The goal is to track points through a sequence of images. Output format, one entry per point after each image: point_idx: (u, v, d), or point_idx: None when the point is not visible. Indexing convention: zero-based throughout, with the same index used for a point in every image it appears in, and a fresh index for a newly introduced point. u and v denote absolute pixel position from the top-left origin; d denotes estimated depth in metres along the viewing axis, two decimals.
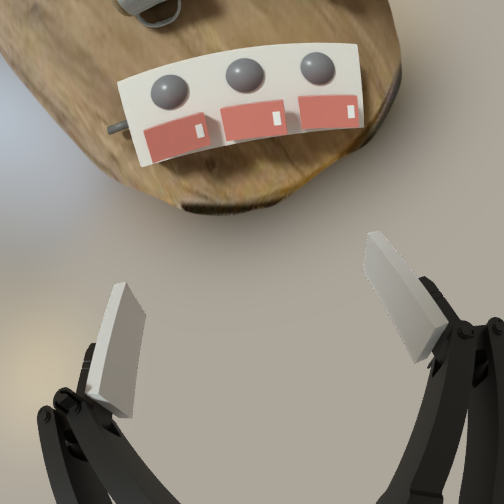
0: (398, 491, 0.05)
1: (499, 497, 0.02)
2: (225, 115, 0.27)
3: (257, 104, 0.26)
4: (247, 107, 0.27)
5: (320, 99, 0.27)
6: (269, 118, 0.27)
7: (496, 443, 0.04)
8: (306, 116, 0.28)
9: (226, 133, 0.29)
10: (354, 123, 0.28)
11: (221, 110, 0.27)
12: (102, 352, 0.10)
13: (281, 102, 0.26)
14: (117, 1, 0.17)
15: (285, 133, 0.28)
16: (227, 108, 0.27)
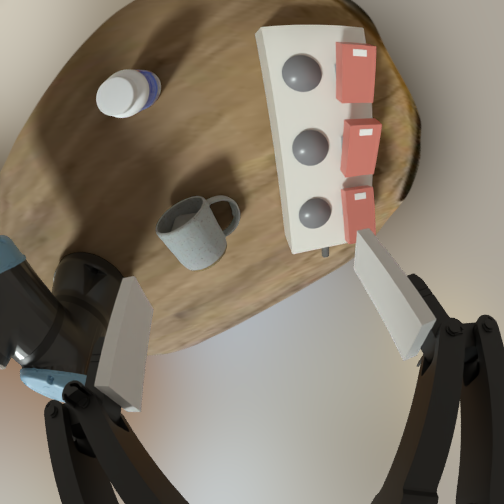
0: (392, 491, 0.05)
1: (496, 495, 0.02)
2: (352, 173, 0.30)
3: (349, 147, 0.27)
4: (350, 155, 0.28)
5: (345, 82, 0.23)
6: (364, 137, 0.26)
7: (490, 442, 0.04)
8: (361, 97, 0.24)
9: (367, 173, 0.30)
10: (372, 51, 0.20)
11: (346, 176, 0.30)
12: (112, 345, 0.10)
13: (351, 126, 0.25)
14: (215, 261, 0.36)
15: (380, 125, 0.25)
16: (346, 171, 0.29)
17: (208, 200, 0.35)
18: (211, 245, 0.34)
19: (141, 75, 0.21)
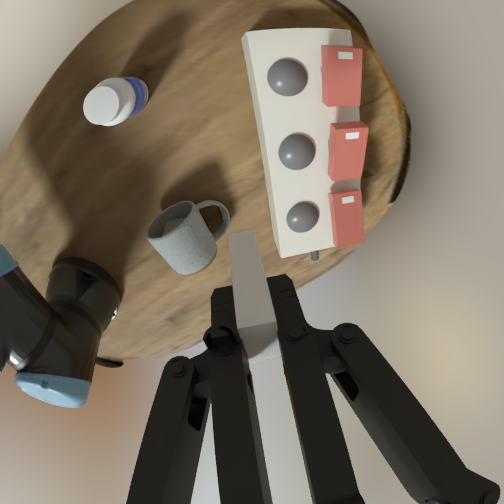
0: None
1: (450, 490, 0.03)
2: (339, 176, 0.30)
3: (335, 151, 0.27)
4: (336, 159, 0.28)
5: (331, 85, 0.23)
6: (351, 141, 0.26)
7: (408, 453, 0.05)
8: (348, 100, 0.25)
9: (354, 176, 0.30)
10: (358, 53, 0.20)
11: (333, 180, 0.30)
12: (244, 288, 0.12)
13: (337, 130, 0.25)
14: (205, 265, 0.36)
15: (367, 128, 0.25)
16: (333, 175, 0.30)
17: (198, 205, 0.35)
18: (201, 250, 0.35)
19: (127, 83, 0.21)
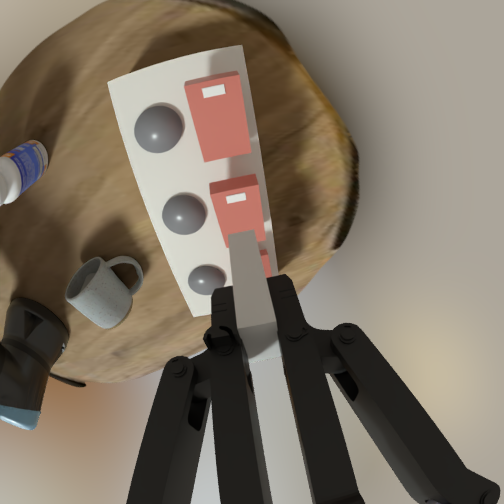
0: None
1: (450, 490, 0.03)
2: None
3: (218, 218, 0.24)
4: (222, 226, 0.25)
5: (201, 135, 0.20)
6: (237, 204, 0.23)
7: (408, 453, 0.05)
8: (231, 149, 0.21)
9: None
10: (233, 83, 0.17)
11: (227, 246, 0.27)
12: (245, 288, 0.12)
13: (212, 195, 0.22)
14: (118, 322, 0.33)
15: (257, 186, 0.22)
16: (225, 241, 0.26)
17: (108, 263, 0.32)
18: (111, 309, 0.31)
19: (10, 163, 0.18)
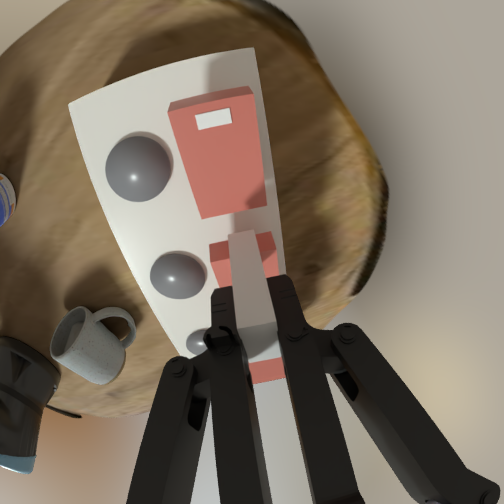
0: None
1: (450, 490, 0.03)
2: None
3: None
4: None
5: (197, 184, 0.14)
6: None
7: (409, 452, 0.05)
8: (239, 201, 0.16)
9: None
10: (244, 106, 0.11)
11: None
12: (244, 289, 0.12)
13: (214, 263, 0.16)
14: (111, 379, 0.27)
15: (274, 251, 0.16)
16: None
17: (94, 316, 0.26)
18: (101, 368, 0.25)
19: None
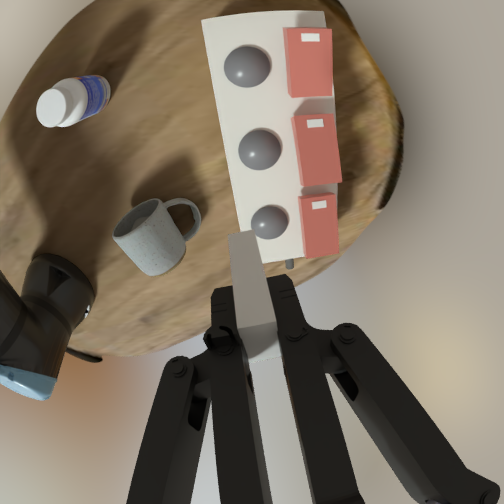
0: None
1: (450, 490, 0.03)
2: (311, 180, 0.25)
3: (299, 143, 0.24)
4: (302, 155, 0.24)
5: (294, 73, 0.20)
6: (316, 130, 0.24)
7: (408, 453, 0.05)
8: (316, 89, 0.21)
9: (332, 181, 0.25)
10: (326, 34, 0.17)
11: (305, 184, 0.25)
12: (244, 288, 0.12)
13: (295, 117, 0.23)
14: (171, 267, 0.33)
15: (332, 115, 0.23)
16: (303, 177, 0.25)
17: (166, 203, 0.33)
18: (166, 251, 0.32)
19: (79, 83, 0.18)
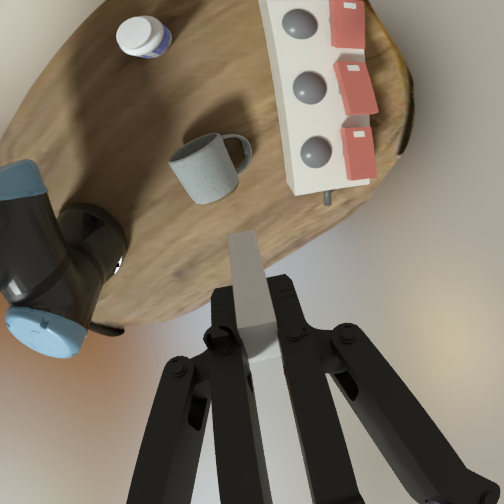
0: None
1: (450, 490, 0.03)
2: (356, 108, 0.27)
3: (343, 80, 0.26)
4: (347, 89, 0.26)
5: (338, 29, 0.22)
6: (354, 73, 0.26)
7: (408, 453, 0.05)
8: (354, 43, 0.23)
9: (371, 110, 0.27)
10: (360, 4, 0.19)
11: (352, 111, 0.27)
12: (244, 289, 0.12)
13: (339, 62, 0.25)
14: (227, 193, 0.35)
15: (364, 63, 0.25)
16: (349, 106, 0.27)
17: (221, 136, 0.34)
18: (224, 175, 0.33)
19: (157, 20, 0.20)
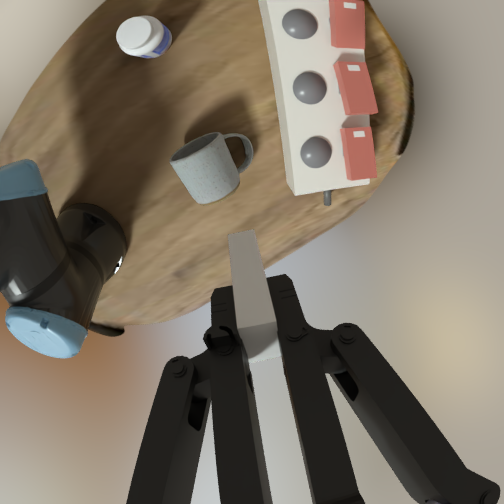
0: None
1: (450, 490, 0.03)
2: (355, 108, 0.27)
3: (343, 81, 0.26)
4: (347, 89, 0.26)
5: (338, 29, 0.22)
6: (354, 73, 0.26)
7: (408, 453, 0.05)
8: (354, 43, 0.23)
9: (371, 111, 0.27)
10: (360, 4, 0.19)
11: (351, 111, 0.27)
12: (244, 289, 0.12)
13: (339, 62, 0.25)
14: (229, 193, 0.35)
15: (364, 63, 0.25)
16: (349, 106, 0.27)
17: (223, 135, 0.34)
18: (226, 174, 0.33)
19: (157, 20, 0.20)
